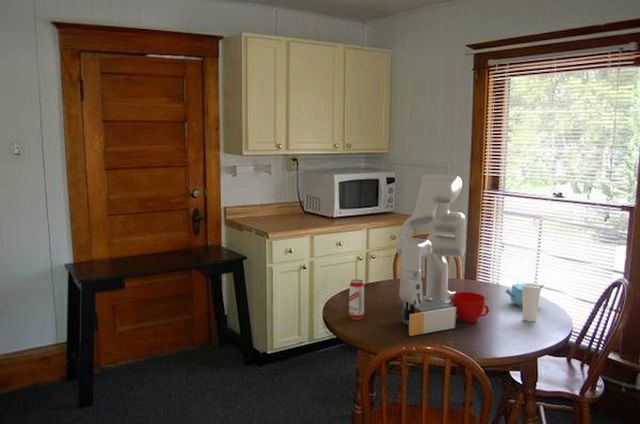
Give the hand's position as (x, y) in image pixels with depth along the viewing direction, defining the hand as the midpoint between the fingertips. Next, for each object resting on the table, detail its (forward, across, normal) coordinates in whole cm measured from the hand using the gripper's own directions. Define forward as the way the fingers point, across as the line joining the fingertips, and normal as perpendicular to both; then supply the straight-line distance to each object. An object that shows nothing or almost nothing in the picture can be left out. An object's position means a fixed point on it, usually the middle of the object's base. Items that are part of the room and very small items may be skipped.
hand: (409, 318), depth 214 cm
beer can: (+5, +22, +12) cm, 26 cm away
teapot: (+5, +6, -66) cm, 66 cm away
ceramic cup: (+5, -1, -30) cm, 31 cm away
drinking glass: (+5, -10, -53) cm, 54 cm away
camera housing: (+5, +3, -10) cm, 12 cm away
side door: (+5, -5, -8) cm, 10 cm away
